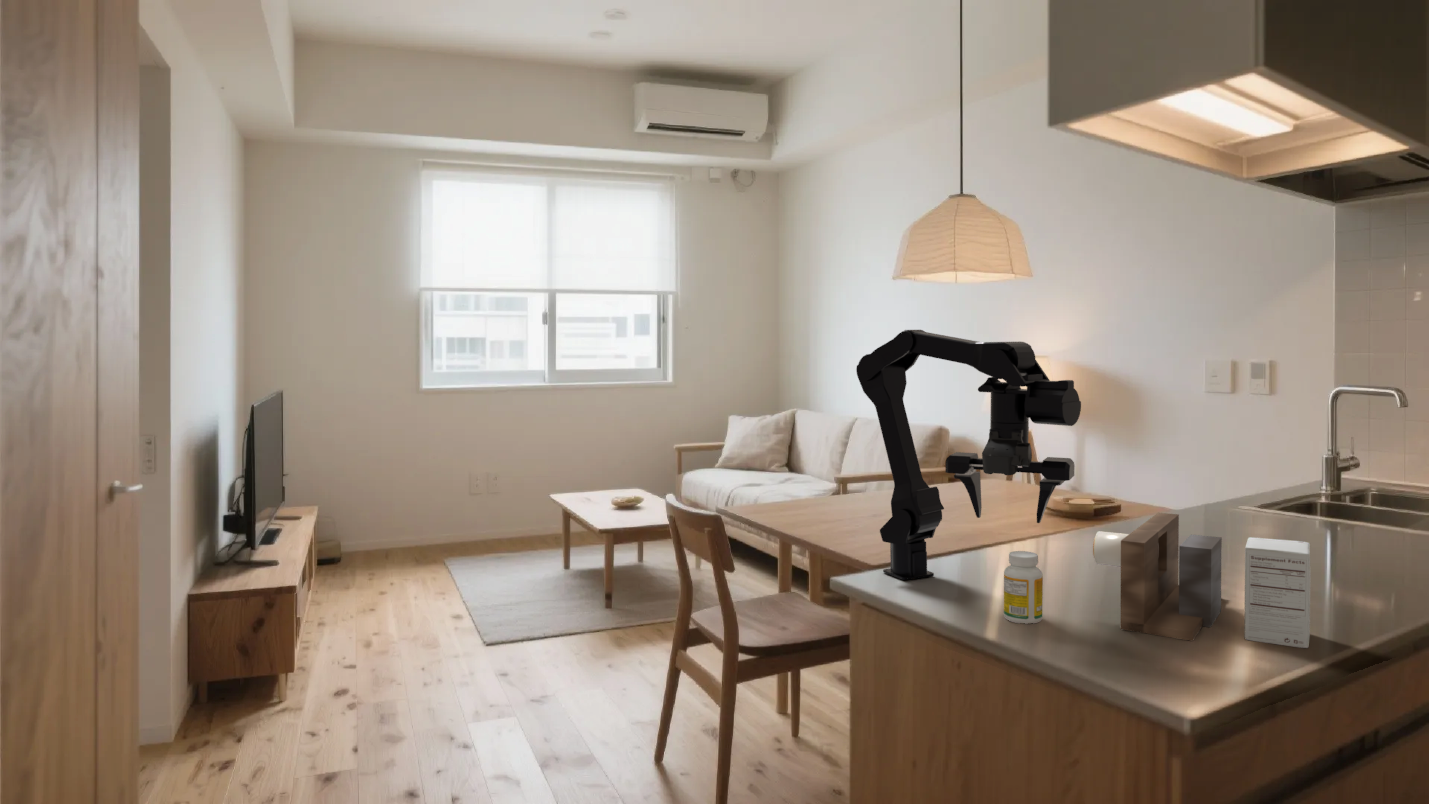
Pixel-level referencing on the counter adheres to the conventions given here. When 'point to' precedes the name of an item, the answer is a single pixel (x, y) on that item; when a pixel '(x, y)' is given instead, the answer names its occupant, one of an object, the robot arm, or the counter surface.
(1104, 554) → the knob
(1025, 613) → the supplement bottle
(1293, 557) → the supplement box
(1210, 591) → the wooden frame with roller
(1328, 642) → the counter surface
